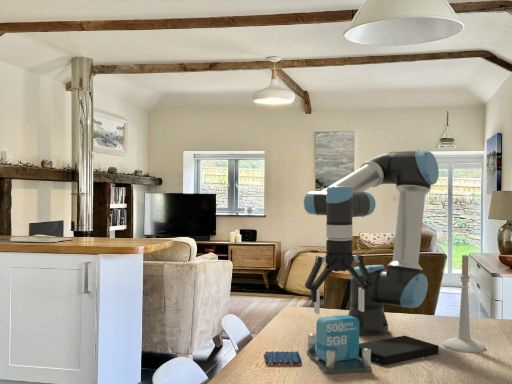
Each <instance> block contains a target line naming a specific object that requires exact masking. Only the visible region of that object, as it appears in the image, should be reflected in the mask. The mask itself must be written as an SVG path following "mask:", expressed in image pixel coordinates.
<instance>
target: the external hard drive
mask: <svg viewBox="0 0 512 384" xmlns="http://www.w3.org/2000/svg"><path fill="white" fill-rule="evenodd" d="M362 348H370V349H371V363H375V364H377V365H381V366H383V367H384V366H389V365H394V364H399V363H403V362H409V361H413V360H417V359H418V358H419V359H423V358H422V357H424V358H428V357H432V356H437V355H439V352H440V351H439V350H440V349H439V348H440V347H439V344H438V345H437V344H434V343H431V342H427V341H424V340H422V339H417V338H414V337H411V336H408V335H399V336H394V337H388V338H383V339H377V340H371V341H366V342H359V355H358V357H359V358H360V359H362Z"/></svg>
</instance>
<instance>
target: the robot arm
mask: <svg viewBox="0 0 512 384" xmlns="http://www.w3.org/2000/svg"><path fill="white" fill-rule="evenodd" d="M359 167H360V168H359V169H357V170H355V171H353V172H351V173H349V174H348V175H347V176H345V177H342V178H340V179H339V180H337V181H336V182H334V183H332V184H331V185H329V186H327V187H325V188H324V189H321V190H319V191H318V190H311V191H308V192H307V193H306V194H305V196H304V199H303V208H304V210H305V211H306V213H307V214H309V215H316V216H326V225H325V226H326V236H325V237H326V238H327V239H326V243H325V245H326V246H325V247H326V248H325V252H326V254H325V256H320V255H316V256H315V260H314V265H313V267H312V268H311V271H310V273H309V275H308V277H307V280H306V281H305V283H304V287H305V288H306V289H307V290H310V299H311V302H312V303H313V312H314V313H315V314H316V315H320V314H321V313H320V307H321V306H320V304H321V303H320V300H321V299H320V297H321V294H320V290H318V289H319V288H320V287H321V286H322V284H323V283H324V282H325V281H326V279H327V278H328V277H329V276H330V274H331V273H332V272H346V271H348V273H349V274H350V279H349V281H350V293H349V294H350V295H349V296H350V306H349V307H350V308H349V311H348V313H347V315H349V316H352V317H355V318H357V319H358V320H359V336H361V335H363V336H380V335H381V336H382V335H385V334H387V333H389V324H388V320H387V316H386V314H385V310H384V305H389V306H393V307H394V306H395V307H401V308H404V309H406V308H409V309H410V308H411V309H415V308H418V307H420V305H422V303H423V302H424V300H425V298H426V296H427V294H428V293H427V292H428V287H429V283H428V277H427V276H426V275H425V274H424V273H423V267H421V265H420V264H419V260H420V259H419V258H420V251H421V241H422V240H421V239H422V231H423V220H424V212H425V211H424V210H425V209H424V208H425V200H426V195H427V194H428V193H430V192H431V189H432V187H431V185H435V184H436V183H437V182H438V180H439V175H440V173H439V171H440V170H439V165H438V162H437V159H436V157H435V155H434V154H433V153H432V152H431V151H428V150H408V151H405V150H404V151H388V152H385V153H382V154H379V155H377V156H375V157H372V158H370V159H368V160H367V161H365V162H363V163H362V164H361V165H360V166H359ZM380 185H395V188H396V189H397V191H398V192H399V199H398V208H397V217H396V226H395V236H394V243H393V244H394V245H393V254H392V260H391V261H390V262H389V263H388V264H387V269H386V268H385V265H384V264H372V265H371V264H370V265H366V264H365V263H364V257H363V255H362V254H359V253H358V254H356V255H353V240H352V239H353V237H354V236H353V235H354V234H353V218H358V217H359V218H364V217H367V216H370V215H371V214H373V212H375V209H376V199H375V197H374V196H373V195H372V193H370V192H367V190H368V189H370V188H376V187H378V186H380ZM353 262H355V263H356V264H357V266H355V267H353V266H352V264H353ZM324 263H326V264H327V265H325V267H324V269H323V270H322V272H321V273H320V275H319V276H318V274H319V272H320V270H321V268H322V265H323V264H324ZM385 269H386V270H385ZM317 276H318V277H317Z"/></svg>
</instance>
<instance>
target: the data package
mask: <svg viewBox="0 0 512 384" xmlns="http://www.w3.org/2000/svg"><path fill="white" fill-rule="evenodd" d="M315 324H316V329H315V330H316V332H315V334H316V356H317V357H318V358H319V359H321V360H323V361H325V362H326V350H335V361H343V360H350V359H356V358H357V357H359V356H358V355H359V343H360V334H359V320H358V319H357V318H355V317H352V316H349V315H348V314H343V315H332V316H321V317H318V319H317V320H316V323H315Z"/></svg>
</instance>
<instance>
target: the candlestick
mask: <svg viewBox="0 0 512 384" xmlns="http://www.w3.org/2000/svg"><path fill="white" fill-rule="evenodd" d="M469 258H470V257H469V255H467V254H462V255H461V275H459V277H460V282H461V284H462V286H461V287H460V288H461V294H460V306H459V307H460V309H459V321H458V334H457V336H455V337H451V338H447V339H445V340H444V341H443V344H442V346H443V347H444V348H445V349H448V350H450V351H451V350H452V351H454V352H460V353H472V354H473V353H481V352H485V350H486V346H485V345H484V344H483V343H482V342H481V341H479V340H477V339H473V338H471V331H470V328H471V327H470V326H471V325H470V303H469V301H470V300H469V298H470V297H469V287H468V285H469V282H470V278H471V277H472V276H471V275H469V267H470V266H469V265H470V264H469V262H470V261H469Z"/></svg>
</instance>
